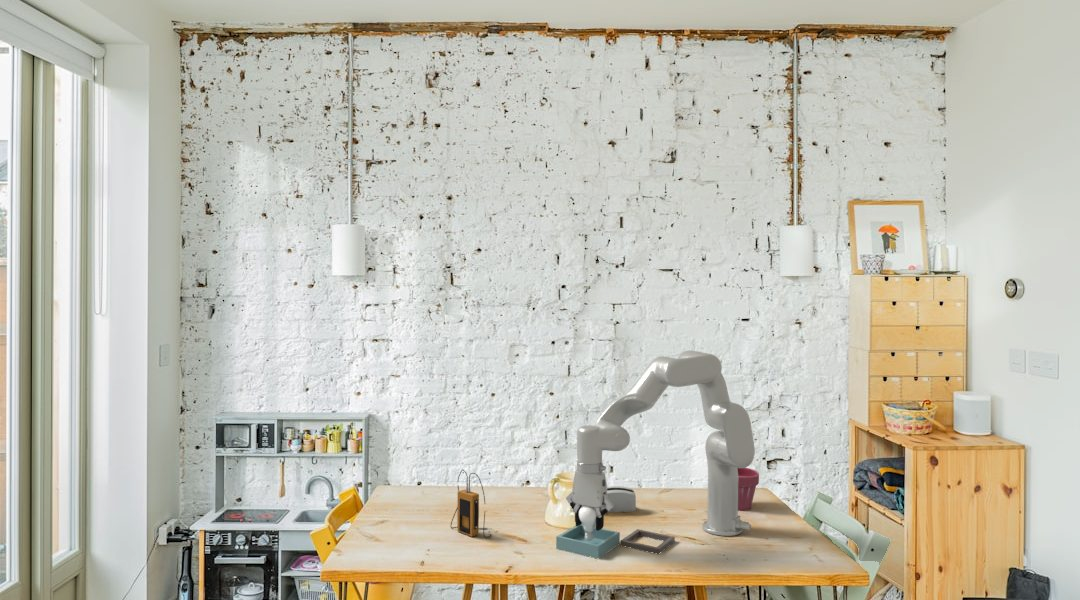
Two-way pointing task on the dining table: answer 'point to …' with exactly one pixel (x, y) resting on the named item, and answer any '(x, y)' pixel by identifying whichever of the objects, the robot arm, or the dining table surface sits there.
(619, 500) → the grey rounded block
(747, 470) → the plant pot
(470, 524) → the multimeter
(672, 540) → the dark brown square frame
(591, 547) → the parts tray
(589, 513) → the lightbulb
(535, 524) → the dining table surface
